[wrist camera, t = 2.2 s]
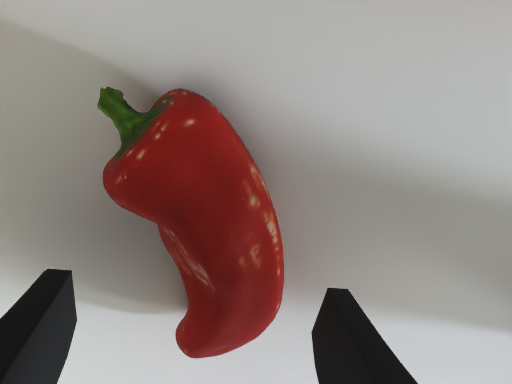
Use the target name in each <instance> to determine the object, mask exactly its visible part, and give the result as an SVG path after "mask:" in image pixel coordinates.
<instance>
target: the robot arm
mask: <svg viewBox="0 0 512 384" xmlns="http://www.w3.org/2000/svg"><path fill="white" fill-rule="evenodd" d="M76 322H77V316H76V307H75V298H74V289H73V280H72V271H71V270H57V269H47V270H46V271H44V272H43V273H42V274H41V275H40V277H39V278H38V279H37V280H36V281H35V282H34V283H33V284H32V286H31V287H30V288H29V289H28V290H27V291H26V292H25V293H24V294H23V296H22V297H21V298H20V299H19V300H18V301H17V302H16V303H15V304H14V305H13V306H12V307H11V308H10V309H9V310H8V312H7V313H6V314H5V315H4V316H3V317H2V318H1V319H0V384H57V382H58V379H59V377H60V374H61V372H62V369H63V366H64V364H65V361H66V359H67V356H68V352H69V349H70V345H71V341H72V338H73V334H74V330H75V326H76ZM312 342H313V352H314V360H315V368H316V372H317V377H318V381H319V384H418V383H417V382H416V381H415V380H414V378H413V377H412V376H411V375H410V373H409V372H408V371H407V370H406V369H405V367H404V366H403V365H402V364H401V362H400V361H399V360H398V358H397V357H396V356H395V354H394V353H393V352H392V350H391V349H390V348H389V346H388V345H387V344H386V342H385V341H384V340H383V338H382V337H381V336H380V334H379V333H378V332H377V330H376V329H375V327H374V326H373V325H372V323H371V322H370V320H369V319H368V317H367V316H366V315H365V313H364V312H363V310H362V309H361V307H360V306H359V304H358V303H357V301H356V300H355V299H354V297H353V296H352V294H351V293H350V292H349V290H348V289H338V288H328V289H327V292H326V294H325V297H324V300H323V303H322V305H321V308H320V311H319V313H318V316H317V319H316V322H315V324H314V327H313V330H312Z"/></svg>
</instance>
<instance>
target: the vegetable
mask: <svg viewBox="0 0 512 384" xmlns="http://www.w3.org/2000/svg"><path fill="white" fill-rule="evenodd" d="M97 105H98V108H99V109H100V110H102V111H103V112H104V114H105V115H107V116H108V117H110V118H111V119H112V121H113V122H114V124H115V126H116V127H117V128H118V130H119V133H120V136H121V142H122V145H121V148H120V150H119V151H118V152H117V153H116V155H115V156H114V157H112V158H111V160H110V161H109V162H108V163H107V165H106V166H105V168H104V171H103V177H102V179H103V185H104V188H105V190H106V191H107V193H108V194H109V196H110V197H111V198H112V199H113V200H114V201H115V202H116V203H117V204H118V205H120V206H121V207H122V208H125V209H127V210H129V211H131V212H133V213H135V214H137V215H139V216H141V217H144V218H146V219H149V220H151V221H153V222H155V223H156V224H157V225H158V229H159V232H160V236H161V239H162V241H163V243H164V245H165V247H166V249H167V250H168V252H169V253H170V255H171V256H172V258H173V260H174V262H175V263H176V265H177V267H178V269H179V272H180V274H181V277H182V279H183V282H184V285H185V288H186V292H187V296H188V301H189V305H188V311H187V313H186V315H185V317H184V318H183V319H182V321H181V322H180V323H179V325H178V327H177V329H176V341H177V344H178V346H179V348H180V349H181V350H182V351H183V353H184V354H186V355H187V356H188V357H191V358H204V357H211V356H217V355H221V354H224V353H227V352H229V351H232V350H234V349H236V348H239V347H241V346H242V345H244V344H246V343H248V342H250V341H252V340H253V339H255V338H256V337H258V336H259V335H260V334H261V333H262V332H263V331H264V330H265V329H266V328H267V327H268V325H269V324H270V323H271V322H272V321H273V319H274V318H275V316H276V314H277V312H278V310H279V308H280V305H281V300H282V292H283V284H284V261H283V246H282V239H281V234H280V229H279V225H278V221H277V217H276V214H275V210H274V207H273V204H272V201H271V198H270V195H269V193H268V190H267V187H266V185H265V182H264V180H263V178H262V176H261V174H260V172H259V170H258V168H257V166H256V164H255V163H254V161H253V159H252V157H251V156H250V154H249V152H248V151H247V149H246V147H245V145H244V144H243V142H242V141H241V139H240V138H239V136H238V135H237V133H236V132H235V130H234V129H233V127H232V126H231V124H230V123H229V122H228V121H227V119H226V118H225V117H224V115H223V114H222V113H221V112H220V111H219V110H218V109H217V108H216V107H215V106H214V105H213V104H212V103H210V102H209V101H208V100H207V99H205V98H204V97H203V96H201V95H199V94H197V93H194V92H190V91H188V90H184V89H174V90H172V91H169V92H167V93H166V94H164V95H163V96H162V97H161V98H160V99H159V100H158V101H157V102H156V103H155V104H154V105H153V107H152V108H151V110H150V111H149V112H147V113H140V112H137V111H135V110H134V109H133V108H132V107H131V106H129V105H128V104H127V102H126V101H125V100H124V99H123V93H122V92H121V91H120V90H115V89H113V88H110V87H108V86H107V87H106V88H105V89H104V88H101V90H100V98H99V102H98V104H97Z"/></svg>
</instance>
